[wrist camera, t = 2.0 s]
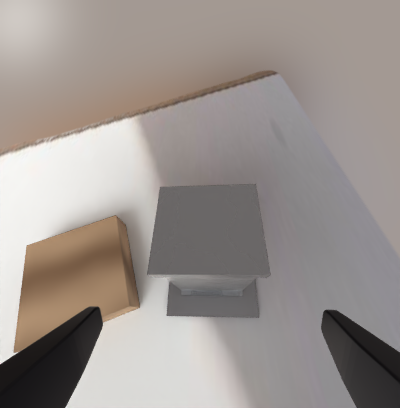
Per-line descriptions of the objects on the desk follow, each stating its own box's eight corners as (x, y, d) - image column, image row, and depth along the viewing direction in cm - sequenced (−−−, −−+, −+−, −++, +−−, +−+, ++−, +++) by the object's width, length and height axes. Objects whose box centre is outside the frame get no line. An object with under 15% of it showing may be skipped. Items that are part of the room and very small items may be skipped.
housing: (242, 296, 17) (270, 274, 8) (182, 295, 17) (147, 274, 9) (237, 244, 20) (255, 184, 11) (185, 245, 20) (160, 186, 11)
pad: (258, 317, 17) (259, 317, 16) (167, 315, 17) (166, 315, 17) (247, 231, 21) (248, 229, 20) (175, 232, 21) (174, 230, 21)
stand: (140, 307, 18) (129, 306, 16) (39, 348, 17) (13, 352, 14) (125, 224, 22) (115, 215, 20) (45, 252, 21) (26, 245, 19)
